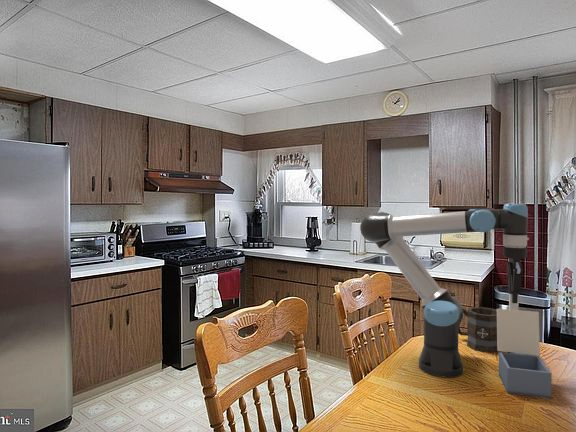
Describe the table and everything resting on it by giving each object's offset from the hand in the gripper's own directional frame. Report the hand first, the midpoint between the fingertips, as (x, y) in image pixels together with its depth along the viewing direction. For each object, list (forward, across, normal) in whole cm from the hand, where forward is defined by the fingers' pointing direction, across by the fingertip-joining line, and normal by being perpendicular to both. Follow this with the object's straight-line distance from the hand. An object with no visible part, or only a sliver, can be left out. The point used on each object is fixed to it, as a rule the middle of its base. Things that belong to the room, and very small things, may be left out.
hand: (513, 311), depth 143 cm
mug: (+21, +21, +9) cm, 31 cm away
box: (+21, -15, 0) cm, 26 cm away
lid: (+5, -7, 0) cm, 9 cm away
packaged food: (+21, +8, -6) cm, 23 cm away
